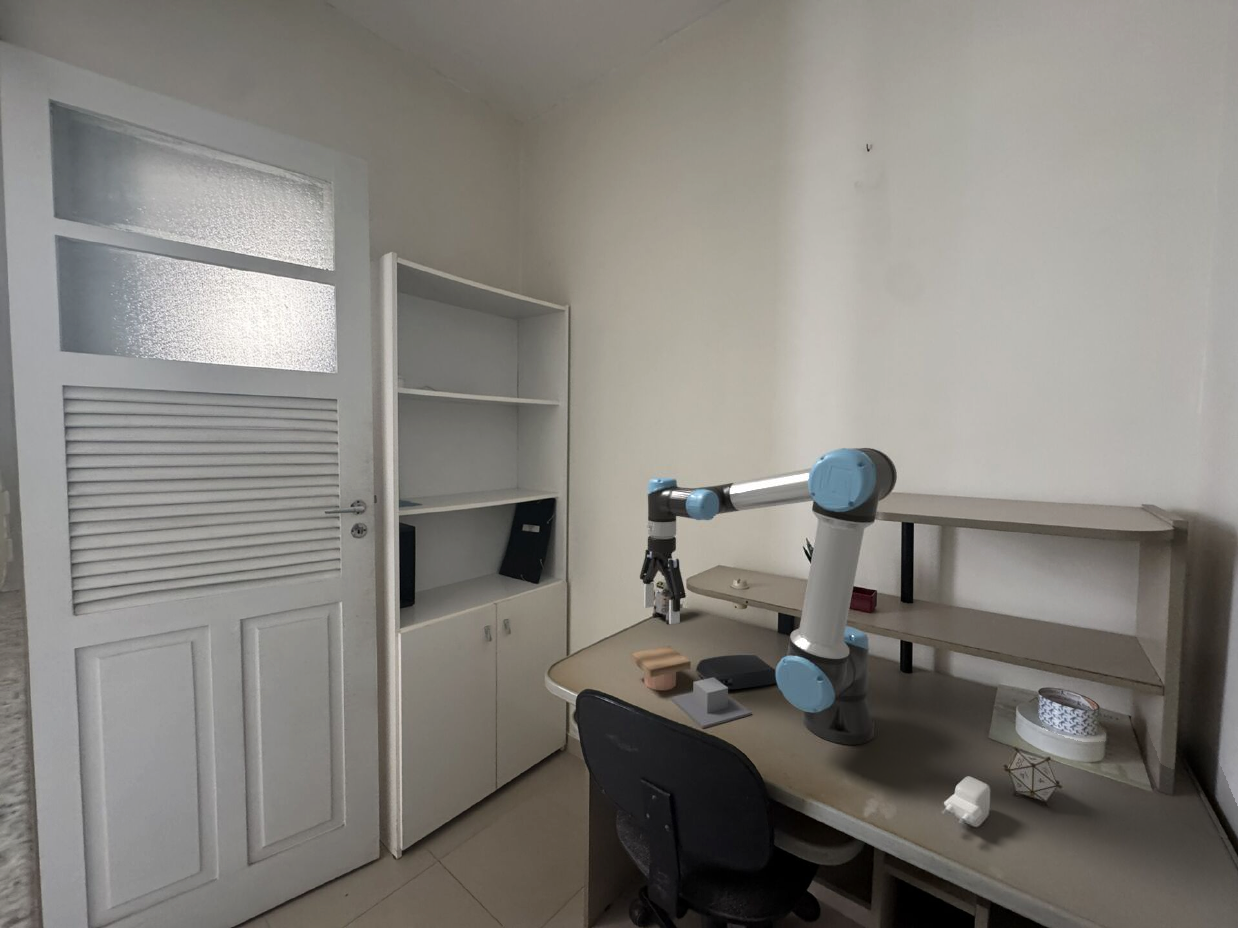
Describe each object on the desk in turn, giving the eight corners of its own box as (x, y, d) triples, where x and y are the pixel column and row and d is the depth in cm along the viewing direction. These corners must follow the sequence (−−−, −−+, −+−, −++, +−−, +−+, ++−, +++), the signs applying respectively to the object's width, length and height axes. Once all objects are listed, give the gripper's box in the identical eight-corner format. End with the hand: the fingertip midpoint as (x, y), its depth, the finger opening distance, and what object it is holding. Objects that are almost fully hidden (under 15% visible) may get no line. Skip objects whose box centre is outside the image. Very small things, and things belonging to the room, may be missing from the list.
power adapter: (967, 847, 84) (968, 812, 84) (935, 828, 88) (936, 795, 88) (994, 818, 91) (995, 785, 90) (963, 801, 95) (964, 771, 94)
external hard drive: (693, 670, 145) (694, 656, 145) (754, 664, 151) (755, 650, 150) (715, 693, 133) (716, 677, 132) (780, 685, 138) (781, 670, 138)
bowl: (681, 686, 137) (681, 667, 137) (654, 692, 134) (654, 673, 134) (665, 672, 145) (665, 655, 145) (639, 678, 141) (639, 660, 141)
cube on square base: (751, 714, 124) (752, 691, 123) (702, 728, 118) (703, 704, 117) (716, 688, 136) (717, 667, 136) (670, 699, 130) (671, 678, 130)
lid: (690, 668, 137) (690, 661, 137) (650, 677, 132) (650, 669, 131) (669, 652, 147) (669, 645, 146) (631, 660, 142) (631, 653, 141)
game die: (1035, 823, 95) (1039, 800, 89) (990, 780, 102) (991, 756, 96) (1071, 794, 96) (1078, 770, 90) (1024, 754, 103) (1027, 729, 98)
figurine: (689, 619, 187) (689, 578, 186) (663, 625, 181) (664, 583, 180) (673, 611, 195) (673, 572, 194) (648, 617, 189) (648, 576, 188)
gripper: (628, 529, 147) (627, 602, 148) (674, 546, 124) (673, 633, 125) (651, 527, 150) (650, 599, 151) (700, 544, 127) (699, 628, 129)
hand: (661, 614), depth 138 cm, fingers open, 13 cm apart
